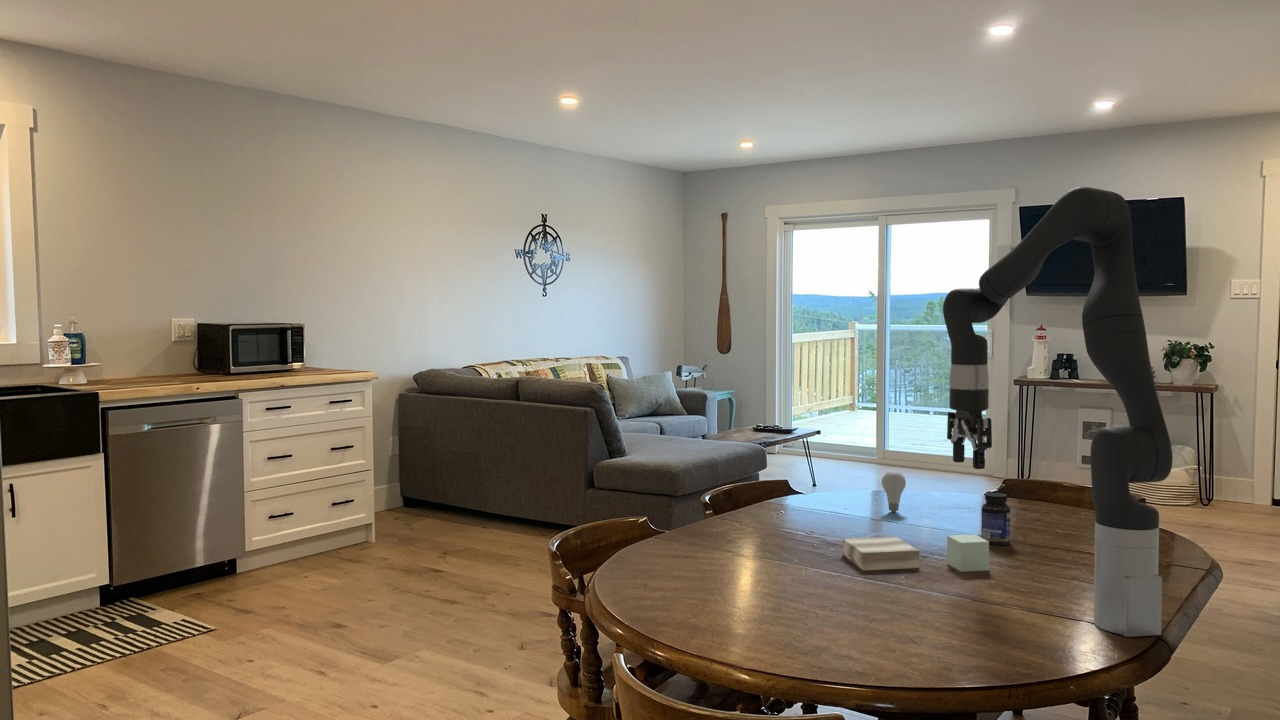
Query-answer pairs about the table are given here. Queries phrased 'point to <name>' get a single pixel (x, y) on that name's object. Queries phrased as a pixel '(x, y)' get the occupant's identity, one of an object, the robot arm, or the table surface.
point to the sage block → (968, 553)
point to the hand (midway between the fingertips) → (968, 465)
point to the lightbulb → (893, 488)
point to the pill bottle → (996, 519)
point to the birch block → (880, 553)
